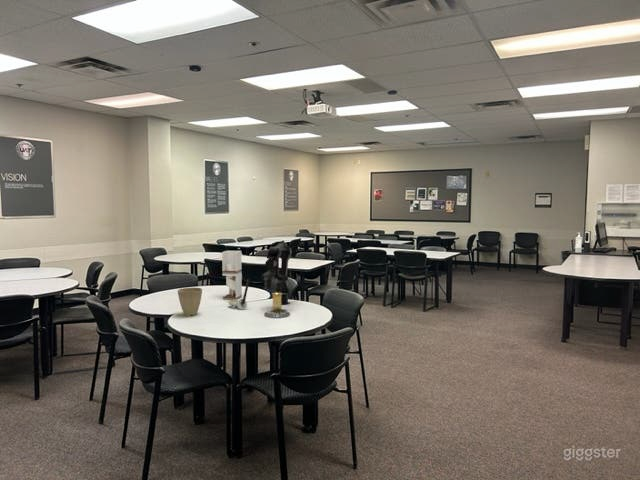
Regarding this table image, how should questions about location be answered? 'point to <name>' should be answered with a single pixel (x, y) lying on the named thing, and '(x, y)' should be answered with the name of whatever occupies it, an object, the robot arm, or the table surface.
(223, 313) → the table surface
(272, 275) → the robot arm
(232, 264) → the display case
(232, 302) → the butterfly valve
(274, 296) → the gold flared cylinder
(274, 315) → the flange
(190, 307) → the plant pot
